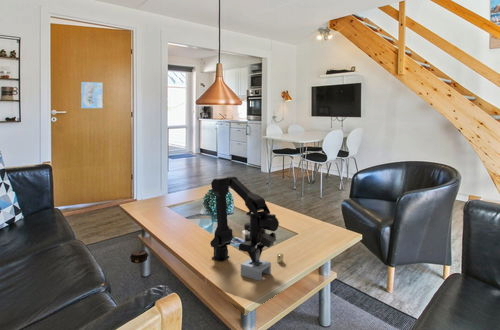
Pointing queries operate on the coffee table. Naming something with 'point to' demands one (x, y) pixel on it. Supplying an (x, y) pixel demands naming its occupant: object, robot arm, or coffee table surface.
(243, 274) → the frame
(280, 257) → the short pin
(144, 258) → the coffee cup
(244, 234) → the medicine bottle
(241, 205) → the coffee table surface
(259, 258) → the long pin
